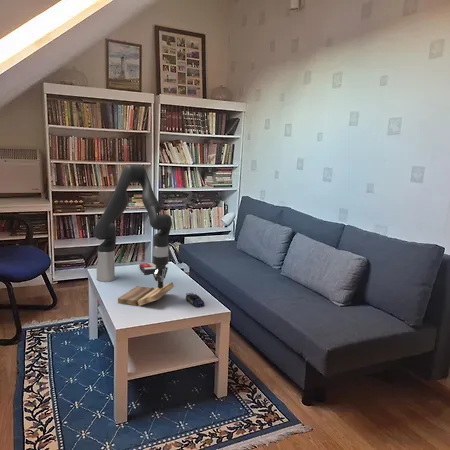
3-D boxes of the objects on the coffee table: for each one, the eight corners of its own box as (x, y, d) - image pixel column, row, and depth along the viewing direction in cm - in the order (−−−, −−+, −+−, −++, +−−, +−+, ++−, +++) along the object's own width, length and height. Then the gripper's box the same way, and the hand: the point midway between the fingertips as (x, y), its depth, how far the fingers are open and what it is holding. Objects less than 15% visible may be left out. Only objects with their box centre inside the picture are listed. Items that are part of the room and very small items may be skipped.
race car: (209, 307, 197) (209, 298, 196) (198, 310, 193) (198, 301, 192) (192, 298, 209) (192, 290, 208) (181, 300, 205) (181, 292, 204)
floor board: (117, 303, 196) (117, 297, 196) (137, 290, 215) (137, 285, 215) (136, 306, 194) (136, 300, 193) (154, 292, 213) (154, 287, 212)
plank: (139, 305, 193) (137, 300, 193) (156, 292, 212) (154, 288, 212) (158, 299, 190) (156, 294, 190) (174, 286, 209) (172, 282, 209)
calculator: (156, 262, 260) (162, 267, 246) (156, 268, 260) (162, 274, 247) (139, 263, 255) (144, 268, 242) (139, 269, 256) (144, 275, 242)
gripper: (159, 250, 204) (159, 283, 207) (147, 256, 192) (147, 291, 195) (173, 252, 202) (172, 285, 205) (162, 258, 190) (161, 293, 193)
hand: (160, 287), depth 200 cm, fingers closed
